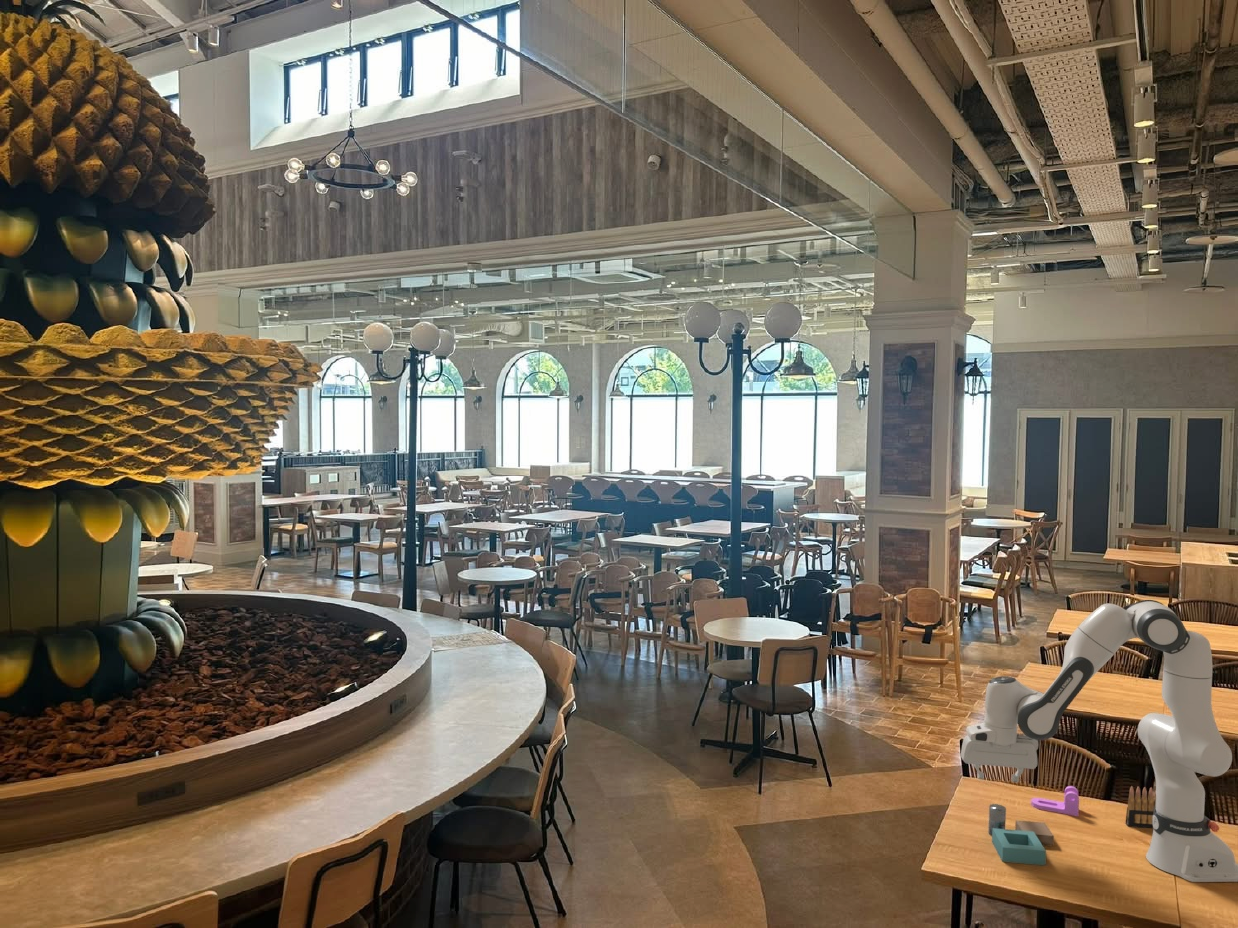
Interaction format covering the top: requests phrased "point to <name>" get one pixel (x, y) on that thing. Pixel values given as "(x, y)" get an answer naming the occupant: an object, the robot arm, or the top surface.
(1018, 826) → the wooden block
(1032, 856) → the hole block
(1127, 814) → the ammunition clip
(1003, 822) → the grey cylinder
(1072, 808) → the bracket
